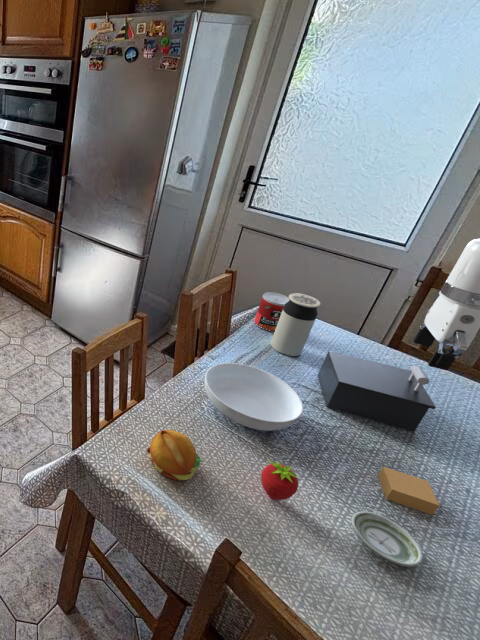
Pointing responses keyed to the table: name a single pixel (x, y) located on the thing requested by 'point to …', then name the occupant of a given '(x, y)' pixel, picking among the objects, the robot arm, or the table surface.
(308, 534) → the table surface
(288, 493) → the strawberry
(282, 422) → the serving bowl
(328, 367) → the lidded storage box
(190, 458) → the cheeseburger
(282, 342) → the travel mug
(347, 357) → the lid
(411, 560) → the saucer
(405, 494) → the brown rectangular block
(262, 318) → the canned food
